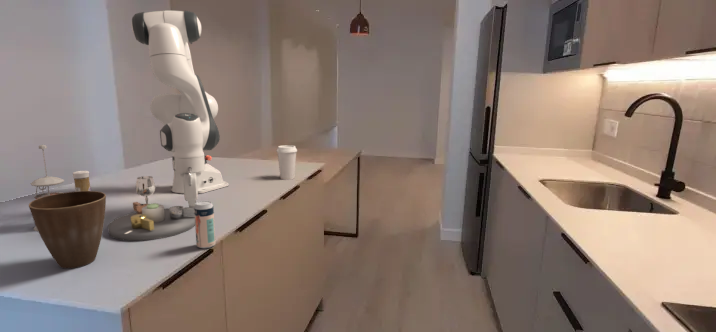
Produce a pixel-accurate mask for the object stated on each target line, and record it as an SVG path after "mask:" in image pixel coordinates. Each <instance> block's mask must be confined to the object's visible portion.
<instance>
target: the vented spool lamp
mask: <svg viewBox="0 0 716 332" xmlns="http://www.w3.org/2000/svg"><path fill="white" fill-rule="evenodd" d="M47 148H48V147H47V145H45V144H40V145H38V149H39V150H42V157H43V163H44V170H45V176H43V177H40V178H36V179H34V180H32V181H31V182H30V185H31V186H32V187H36V189H35V195H34V196H33V197H34V200H36V199H39V198H42V197H46V196H50V195H55V194H60V193H63V192H61V191H54V192H53V191H50V187H52V186H56V185H57V186H58V185H61V184H63V183H64V182H65V179H63V178H60V177H56V176H49V175H48V173H47V167H46V158H45V152H44V150H45V149H47ZM38 189H39V190H40V191H42V193H39V194H38ZM45 189H47V192H44V190H45ZM33 231H34V232H39V231H38V229H37V227H36V225H35V226H34V228H33Z"/></svg>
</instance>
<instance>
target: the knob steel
mask: <svg viewBox="0 0 716 332" xmlns="http://www.w3.org/2000/svg"><path fill="white" fill-rule="evenodd" d="M168 208H169V211H170V218H171V219H180V218H183V217H190V216H195V215H194V207H189V206H188V207H187V206H185V207H184V206H183V205H174V206H171V207H168Z"/></svg>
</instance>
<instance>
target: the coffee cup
mask: <svg viewBox="0 0 716 332" xmlns="http://www.w3.org/2000/svg"><path fill="white" fill-rule="evenodd" d="M297 152H298V149H297V148H296V145H291V144H290V145H289V144H288V145H285V144H284V145H278V146H277V148H276V153H277V159H278V168H279V178H280V180H283V181H289V180H293V179H295V177H296V176H295V174H296V161H297Z"/></svg>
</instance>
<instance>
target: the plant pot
mask: <svg viewBox="0 0 716 332" xmlns="http://www.w3.org/2000/svg"><path fill="white" fill-rule="evenodd" d="M106 197H107V195H106V193H104V192H102V191H96V190H91V191H77V192H75V191H68V192H62V193H60V194H55V195H50V196H46V197H42V198H39V199H34V200H32V201H30V202H29V204H28V208H29V211H30V214H31V217H32V218H33V219H32V220H33V221H34V224H35V226H36V227H37V229H38V231H37V232H38V233H39V234H38V235H40V237H41V239H42V242H43V244H44V246H46V248H47V250H48V252H49V254H50V255H51V257H52V258H53V259H54V261H55V263H56V264H57V265H58V267H59V268H62V269H75V268H77V269H78V268H81V267H84V266H87V265H89V264H91V263H93V262H94V261H95V260H96V258H97V256H98V252H99V249H100V244H101V241H102V235H103V231H104V230H103V229H104V223H105V216H106V206H107V205H106V203H107V200H106Z"/></svg>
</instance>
